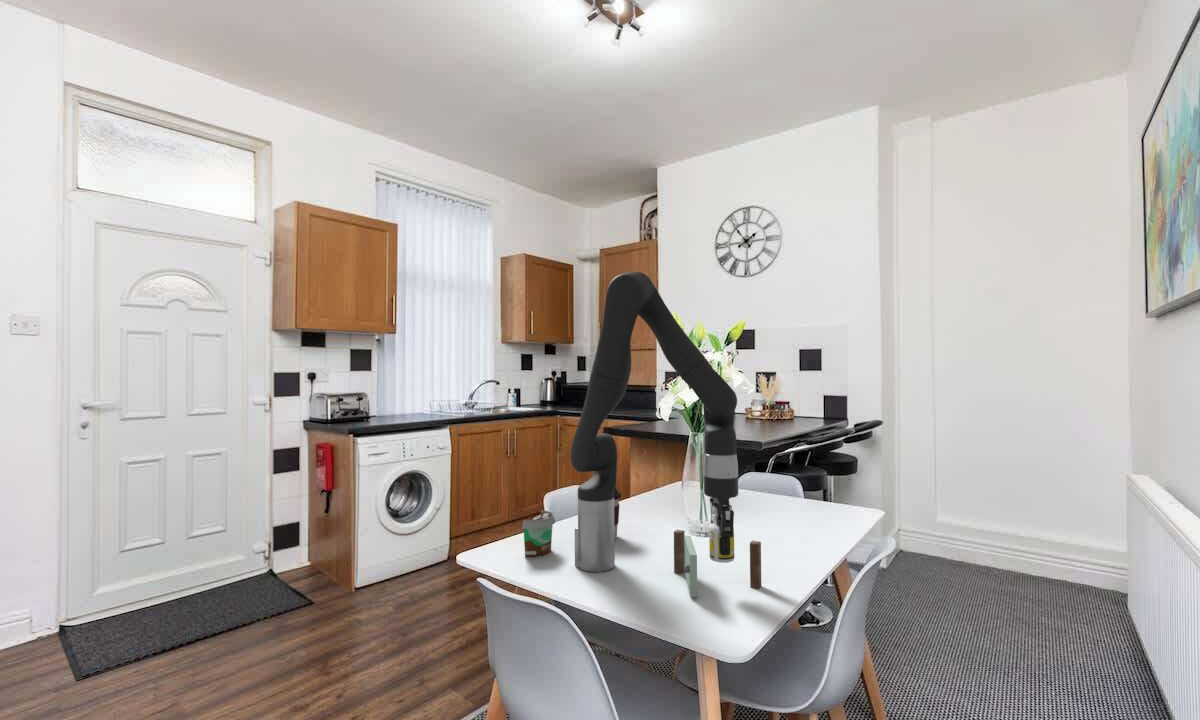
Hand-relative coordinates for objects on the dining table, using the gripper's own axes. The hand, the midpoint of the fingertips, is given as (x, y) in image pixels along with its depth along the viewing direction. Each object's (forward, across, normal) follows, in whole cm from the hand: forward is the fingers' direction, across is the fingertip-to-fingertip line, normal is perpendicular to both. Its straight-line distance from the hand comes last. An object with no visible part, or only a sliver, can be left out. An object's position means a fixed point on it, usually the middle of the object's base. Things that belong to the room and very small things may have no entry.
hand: (721, 550), depth 123 cm
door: (+9, +3, +7) cm, 12 cm away
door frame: (+9, +8, 0) cm, 12 cm away
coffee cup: (+9, +41, +26) cm, 49 cm away
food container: (+9, +27, +43) cm, 52 cm away
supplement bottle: (+2, 0, 0) cm, 2 cm away
